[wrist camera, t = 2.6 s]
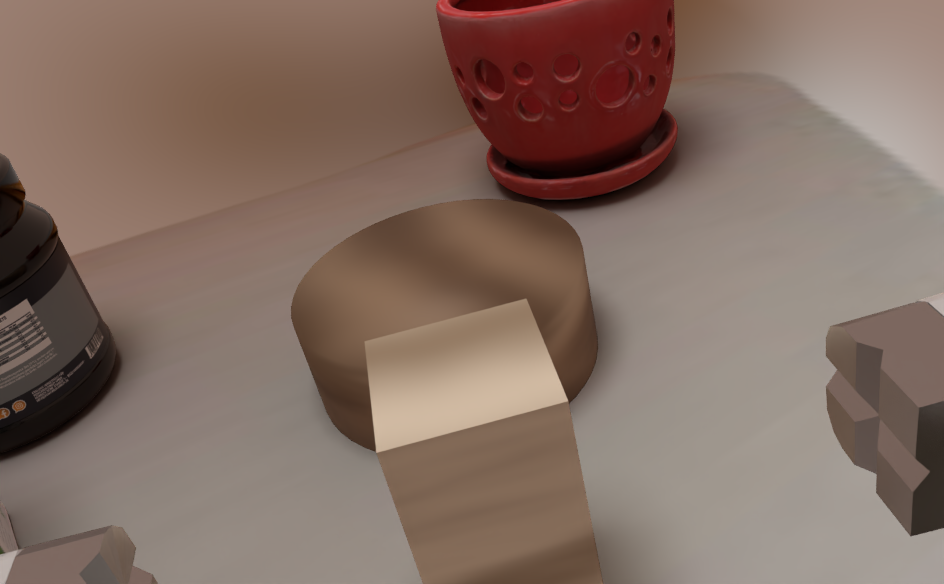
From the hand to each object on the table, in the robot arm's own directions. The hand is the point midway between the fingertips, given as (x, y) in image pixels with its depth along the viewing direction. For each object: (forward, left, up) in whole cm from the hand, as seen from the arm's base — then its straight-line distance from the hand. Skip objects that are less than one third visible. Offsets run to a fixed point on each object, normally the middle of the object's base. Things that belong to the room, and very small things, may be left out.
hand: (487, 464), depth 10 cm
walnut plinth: (+9, +25, -18) cm, 32 cm away
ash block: (+4, +12, -18) cm, 22 cm away
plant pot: (+24, +37, -18) cm, 47 cm away
